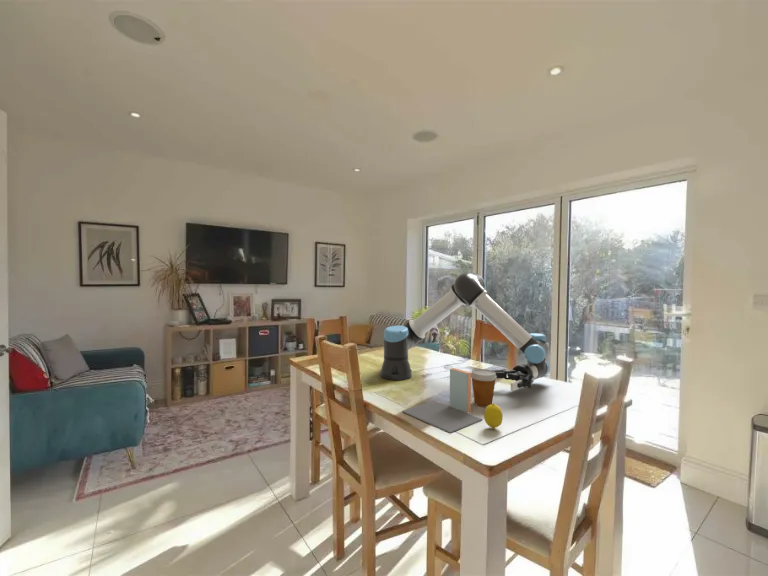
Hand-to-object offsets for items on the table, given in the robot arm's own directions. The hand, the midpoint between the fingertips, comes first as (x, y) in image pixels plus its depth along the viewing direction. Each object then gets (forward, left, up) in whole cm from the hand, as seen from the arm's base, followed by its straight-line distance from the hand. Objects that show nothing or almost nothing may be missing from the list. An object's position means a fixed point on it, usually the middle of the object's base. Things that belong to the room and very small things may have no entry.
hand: (495, 382), depth 137 cm
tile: (-3, -18, -7) cm, 19 cm away
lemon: (+15, -23, -7) cm, 28 cm away
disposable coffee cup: (-1, -7, -7) cm, 10 cm away
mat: (-3, -28, -7) cm, 29 cm away
